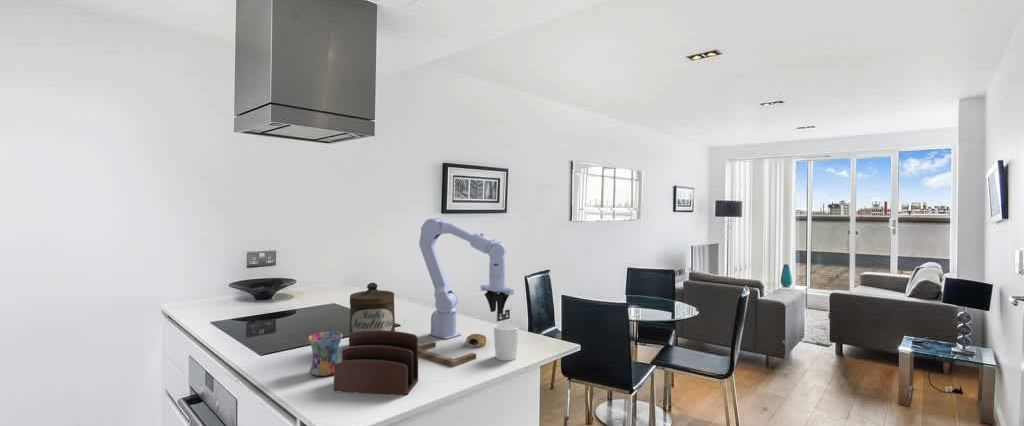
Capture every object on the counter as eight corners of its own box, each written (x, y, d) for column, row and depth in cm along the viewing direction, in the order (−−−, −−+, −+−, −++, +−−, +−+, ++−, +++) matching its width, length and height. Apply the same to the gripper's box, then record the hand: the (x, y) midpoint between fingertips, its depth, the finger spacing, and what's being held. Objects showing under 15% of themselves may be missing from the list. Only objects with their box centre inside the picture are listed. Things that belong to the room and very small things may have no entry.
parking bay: (408, 352, 154) (408, 348, 154) (431, 345, 162) (431, 341, 162) (453, 366, 141) (453, 362, 141) (476, 358, 149) (476, 353, 149)
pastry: (472, 339, 171) (472, 329, 171) (490, 341, 169) (490, 330, 169) (463, 347, 162) (463, 336, 162) (482, 348, 160) (482, 337, 160)
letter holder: (349, 378, 132) (350, 328, 132) (418, 381, 130) (419, 330, 130) (333, 392, 122) (333, 338, 122) (407, 396, 120) (407, 341, 120)
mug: (331, 379, 130) (331, 341, 130) (301, 377, 132) (301, 339, 132) (352, 365, 142) (352, 330, 142) (324, 363, 144) (324, 328, 143)
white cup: (489, 359, 149) (489, 327, 149) (501, 352, 156) (501, 322, 156) (511, 363, 145) (511, 331, 145) (522, 356, 152) (522, 325, 152)
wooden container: (349, 355, 151) (349, 287, 151) (349, 342, 165) (349, 280, 165) (396, 351, 156) (396, 285, 155) (392, 339, 170) (393, 278, 169)
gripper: (519, 276, 171) (518, 313, 171) (489, 272, 180) (489, 307, 180) (506, 278, 165) (506, 316, 166) (476, 274, 174) (476, 310, 175)
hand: (496, 312), depth 173 cm, fingers open, 3 cm apart
